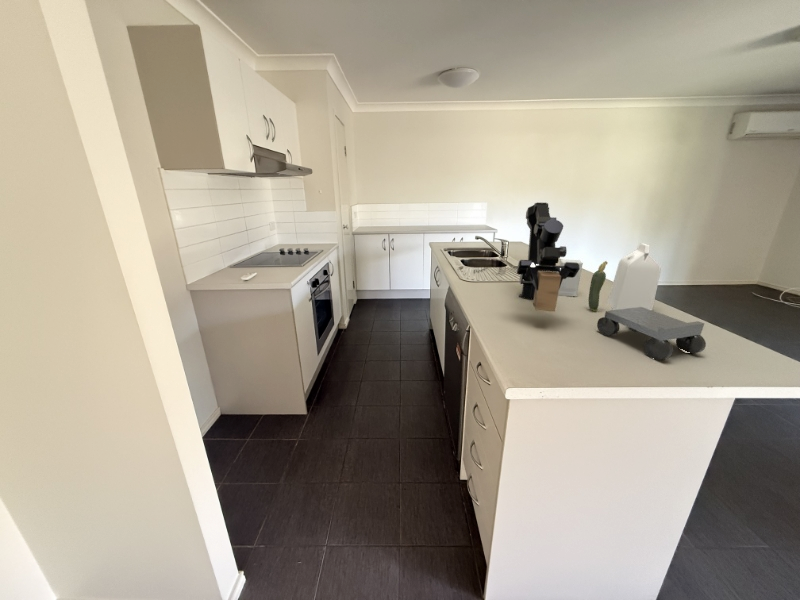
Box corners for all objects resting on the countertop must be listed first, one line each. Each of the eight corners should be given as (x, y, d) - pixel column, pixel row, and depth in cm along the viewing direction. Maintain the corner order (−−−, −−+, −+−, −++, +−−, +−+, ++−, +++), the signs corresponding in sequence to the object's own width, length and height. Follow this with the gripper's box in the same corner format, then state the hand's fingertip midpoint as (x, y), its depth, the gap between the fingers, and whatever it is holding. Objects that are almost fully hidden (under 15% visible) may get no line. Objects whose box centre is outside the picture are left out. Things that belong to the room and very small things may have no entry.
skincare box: (574, 293, 145) (581, 260, 140) (577, 297, 139) (583, 263, 134) (554, 291, 148) (560, 258, 143) (556, 295, 142) (562, 261, 137)
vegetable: (585, 311, 123) (596, 261, 117) (584, 308, 127) (594, 259, 120) (598, 313, 122) (610, 262, 115) (596, 309, 125) (608, 260, 119)
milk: (650, 316, 119) (670, 247, 110) (615, 312, 122) (632, 246, 114) (639, 306, 129) (656, 242, 121) (607, 303, 133) (621, 241, 124)
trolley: (595, 331, 106) (601, 304, 103) (629, 326, 110) (636, 300, 107) (662, 363, 86) (673, 332, 83) (701, 356, 90) (712, 326, 87)
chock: (532, 303, 111) (538, 270, 107) (551, 305, 109) (557, 271, 105) (535, 309, 105) (541, 275, 101) (554, 311, 104) (561, 276, 100)
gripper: (522, 236, 105) (521, 276, 99) (583, 238, 101) (587, 280, 95) (517, 254, 115) (516, 292, 109) (572, 257, 111) (575, 296, 104)
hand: (547, 290), depth 104 cm, fingers closed on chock, 6 cm apart
